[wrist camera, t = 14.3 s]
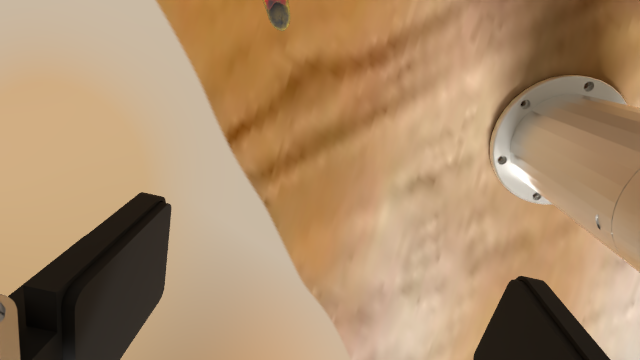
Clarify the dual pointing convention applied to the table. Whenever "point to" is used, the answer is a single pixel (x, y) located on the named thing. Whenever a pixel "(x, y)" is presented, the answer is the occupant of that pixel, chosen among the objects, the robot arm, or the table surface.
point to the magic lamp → (278, 13)
